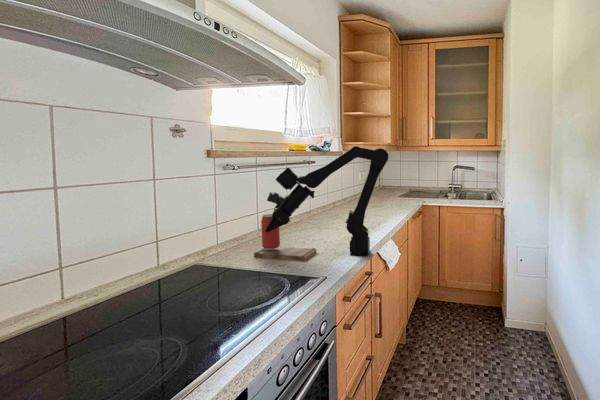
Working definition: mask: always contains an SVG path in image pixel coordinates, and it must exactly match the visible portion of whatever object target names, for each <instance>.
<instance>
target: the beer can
mask: <svg viewBox="0 0 600 400" xmlns="http://www.w3.org/2000/svg"><path fill="white" fill-rule="evenodd" d="M272 219H273V213H270V214H269V213H267V214H263V215H262V218H261V221H260V223H261V225H260V226H261V227H260V228H261V245H262V248H267V249H273V248H277V247H279V246H280V247H281V241H280V240H281V239H280V237H281V235H280V227H278V228H276V229H274V230H271V231H269V232H266V231H265V230H266V228H267V227H268V225H269V224H270V222H271V220H272Z"/></svg>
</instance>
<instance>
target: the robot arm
mask: <svg viewBox="0 0 600 400" xmlns="http://www.w3.org/2000/svg"><path fill="white" fill-rule="evenodd" d="M356 158H360V159H364V160H369V161H370V163H369V169H368V173H367V176H366V179H365V182H364V184H363V187H362V190H361V192H360V194H359V195H360V196H359V198H358V201H357V203H356V207H355V209H354V210H353V211H352V210H351V209H350V210H349V213H348V217H347V218H346V220H345V224H346V230H347V232H348V233H349V234H351V237H350V241H349V255H350V256H363V257H368V256H369V255H370V253H371V252H372V250H370V249H371V248H370V246H371V244H370V243H371V242H370V241H371V240H370V236H369V229H368V228H367V227H366V226H365V225H364V222H365V217H366V216H365V215H366V211H367V208H368V205H369V202H370V199H371V197H372V194H373V192H374V189H375V186H376V183H377V181H378V178H379V176H380V173H382V171H383V169H384V168H385V166H386V164H387V162H388V160H389V153H388V151H387V150H386V149H384V148H376V149H369V148H365V147H360V146H357V145H354V146H353V147H351V148H350V150H347V151H346V152H344V153H343V154H341V155H340V156H338V157H337V158H335V159H334V160H332V161H331V162H329V163H328V164H326V165H324V166H322V167H319V168H318V169H315V170H313V171H310V172H309V173H307V174H306V175H304V176H302V175H300V176H298V175H297V174H296V173H295V172H294V171H293V170H292V169H291V167H290V166H288V167H287V168H285V169H284V170H283V171H282V172H281V173H279V174H278V176H277V177H276V178H275V182H277V183H278V184H279V185H280V187H283V189H284V190H285V191H287V190H289V191H291V190H292V189H293V190H292V191H291V192H290V193H289V194H288V195H285V196H282V195H280V194H279V193H277V192H276V191H275V192H273V191H270V192H269V194H268V196H267V199H266V201H267V202H270V203H273V204H276V205H275V206H274V208H273V212H272V214H273V219H272V220H271V222H270V224H269V225H268V227H267V228H266V230H265V231H266V232H269V231H271V230H274V229H276V228H278V227H279V228H280V227H283V226H286V225H287V224H289V222H290V219H291V217H292V215H293V214H294V212H295V211H297V210H298V209H299V208H300V206H301V205H302V204H303V203H304V202H305V201H306V200H307V199H308V197H311V198H312V199H314V198H315V192H316V191H315V190H311V189H315V188H317V187H319V186H320V185H321V184H322V183H323V182H324V181H326V179H327V178H328V177H329V176H331V175H332V174H334V173H335V172H336V171H338V170H339V169H341V168H342V167H344V166H346V165H348V164H349V163H351V162H352V161H353V160H355V159H356ZM303 185H304V186H303ZM295 186H296V187H295Z"/></svg>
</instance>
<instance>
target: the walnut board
mask: <svg viewBox="0 0 600 400" xmlns="http://www.w3.org/2000/svg"><path fill="white" fill-rule="evenodd" d="M317 253H318V252H317V248H315V247H313V248H312V247H311V248H308V247H307V248H305V247H293V246H292V247H291V246H281V245H280V246H279V247H277V248H273V249H267V248H264V247H262V248H261V249H259V250H257V251H255V252H253V257H254V258H263V259H273V260H275V259H277V260H288V261H289V260H290V261H301V262H306V261H308V260H309V259H310V258H311V257H313V256H314V255H316V254H317Z"/></svg>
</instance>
